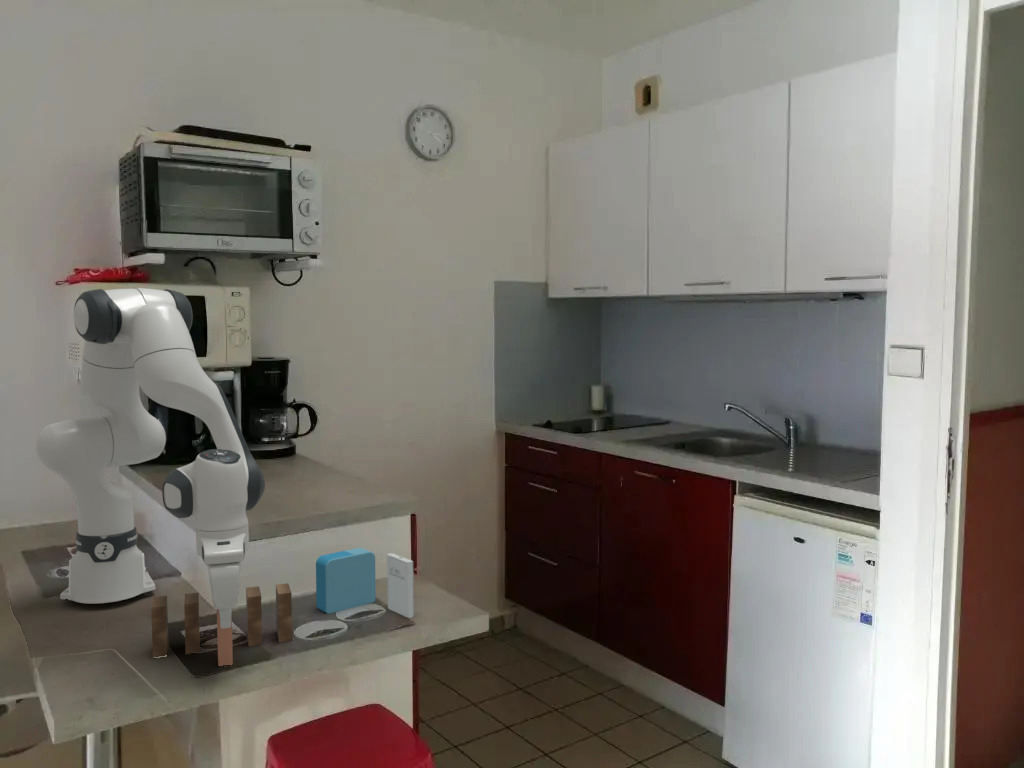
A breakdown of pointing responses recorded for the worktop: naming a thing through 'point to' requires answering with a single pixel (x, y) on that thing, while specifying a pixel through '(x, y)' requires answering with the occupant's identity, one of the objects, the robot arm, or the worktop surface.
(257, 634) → the domino
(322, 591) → the blue rounded box
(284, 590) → the domino
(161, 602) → the domino
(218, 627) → the domino
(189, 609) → the domino
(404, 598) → the hard drive
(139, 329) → the robot arm
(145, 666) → the worktop surface
